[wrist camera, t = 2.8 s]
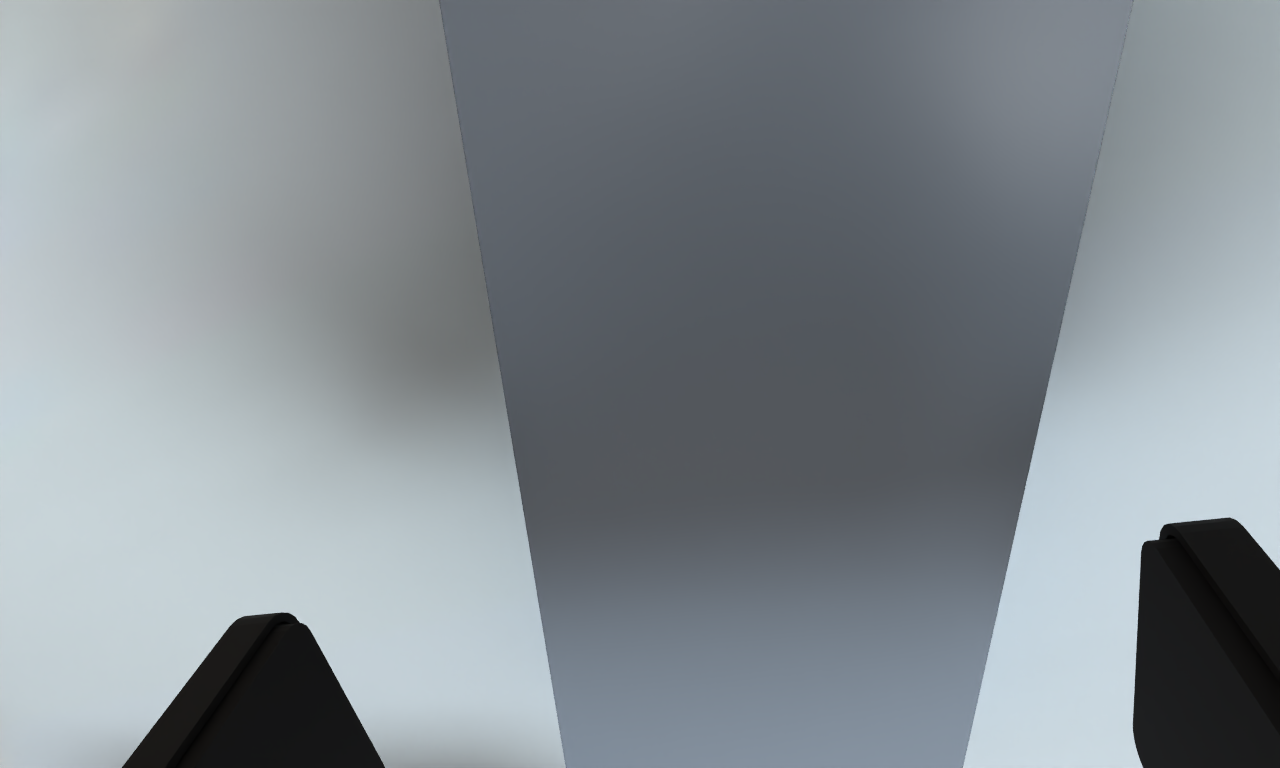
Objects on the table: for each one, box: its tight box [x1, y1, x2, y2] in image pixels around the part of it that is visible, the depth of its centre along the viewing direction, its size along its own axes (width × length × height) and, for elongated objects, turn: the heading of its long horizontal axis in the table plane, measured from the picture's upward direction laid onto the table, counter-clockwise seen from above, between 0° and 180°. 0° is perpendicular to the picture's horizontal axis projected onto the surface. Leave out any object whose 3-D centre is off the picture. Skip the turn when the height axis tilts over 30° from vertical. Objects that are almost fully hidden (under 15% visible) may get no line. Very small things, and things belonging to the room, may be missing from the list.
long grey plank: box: [439, 0, 1133, 768], centre depth 12 cm, size 20×6×5 cm, turn 3°
